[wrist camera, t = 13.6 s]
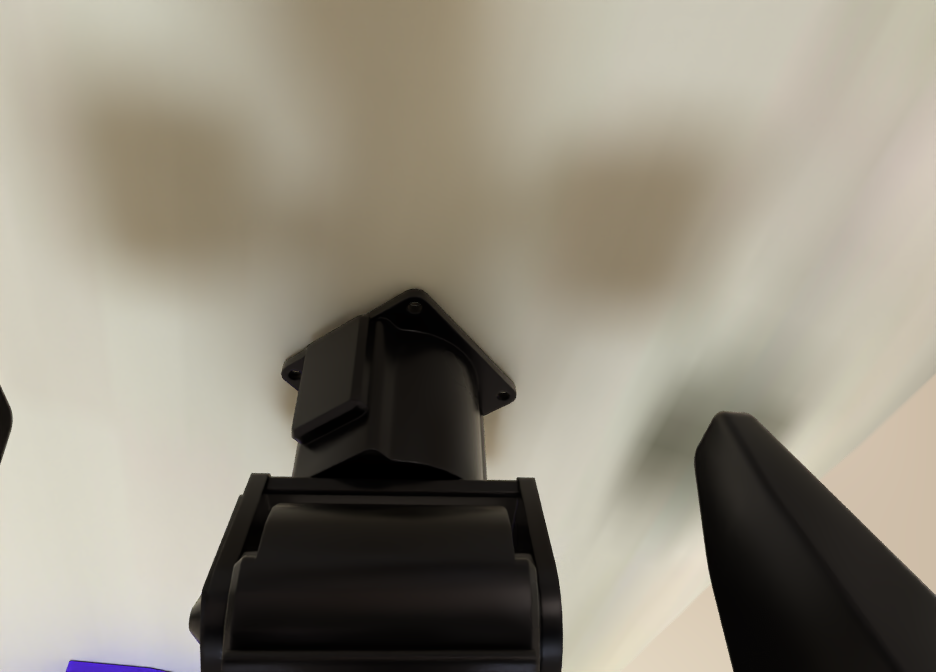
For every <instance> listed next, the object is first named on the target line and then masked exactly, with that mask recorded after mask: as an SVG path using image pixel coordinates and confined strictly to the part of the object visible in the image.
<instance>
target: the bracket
mask: <svg viewBox="0 0 936 672" xmlns="http://www.w3.org/2000/svg"><path fill="white" fill-rule="evenodd" d="M66 672H166V671H161V670H156V669H151V668H142V667H131V666H120V665H110V664H99V663H88V662H77V661H70V662H69V664H68V667H67V670H66Z"/></svg>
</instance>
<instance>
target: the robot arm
mask: <svg viewBox="0 0 936 672" xmlns="http://www.w3.org/2000/svg"><path fill="white" fill-rule="evenodd" d="M412 302H418V303H420V305H418V306H412V305H411V304H410V303H412ZM293 370H294V371H299V372H294V371H293ZM281 375H282V378H283V379H284V380H285V381H286V382H287V383H288V384H290V385H291V386H292V387H294V388H295V389H296V390H298V391H299V392H298V397H297V403H296V408H295V413H294V419H293V424H292V438H293V439H295V440H296V441H297V442H298V445H297V451H296V457H295V462H294V468H293V473H292V477H271V475H270V474H269V473H252V474H251V476H250V478H249V481H248V483H247V486H246V488H245V491H244V493H243V495H240V496H239V498H238V501H237V503H236V506H235V508H234V511H233V513H232V516H231V518H230V521H229V523H228V526H227V528H226V531H225V533H224V536H223V538H222V541H221V543H220V546H219V548H218V551H217V553H216V556H215V558H214V561H213V564H212V566H211V569H210V571H209V574H208V576H207V579H206V581H205V584H204V586H203V590H202V594H201V596H200V597H199V599H198V600H197V602H196V603H195V605H194V606H193V608H192V610H191V613H190V618H189V630H190V632H191V634H192V635H193V636H194V637H195V639H196V640H197V641H198V642H199V644H200V656H201V672H561V668H562V653H563V624H562V606H561V594H560V586H559V579H558V574H557V569H556V564H555V560H554V556H553V552H552V548H551V543H550V539H549V535H548V531H547V527H546V523H545V519H544V515H543V511H542V506H541V502H540V498H539V494H538V490H537V486H536V482H535V478H520V477H517V480H487V472H486V456H485V439H484V423H483V416H484V415H486V414H489V413H491V412H493V411H495V410H497V409H499V408H501V407H503V406H505V405H508V404H510V403H511V402H513V401H514V400H515V398H516V387H515V385H514V383H513V382H512V381H511V380H510V379H509V378H508V377H507V376H506V375H505V374H504V373H503V372H502V371H501V370H500V369H499V368H498V366H497V365H496V364H495V363H494V362H493V361H492V360H491V359H490V358H489V357H488V356H487V355H486V354H485V353H484V352H483V351H482V350H481V349H480V348H479V347H478V346H477V345H476V344H475V343H474V342H473V341H472V340H471V339H470V338H469V336H468V335H467V334H466V333H465V332H464V331H463V330H462V329H461V328H460V327H459V326H458V325H457V324H456V323H455V322H454V321H453V320H452V319H451V318H450V317H449V316H448V315H447V314H446V313H445V312H444V311H443V310H442V309H441V308H440V306H439V305H438V304H437V303H436V302H435V301H434V300H433V299H432V298H431V297H430V296H429V295H428V294H427V293H426V292H424V291H423V290H419V289H410V290H408V291H405V292H404V293H402V294H400V295H398V296H397V297H395V298H393V299H391V300H390V301H388V302H386V303H385V304H383V305H381V306H379V307H378V308H376V309H374V310H372V311H371V312H369V313H367V314H365V315H360V316H357V317H356V318H354V319H352V320H350V321H349V322H347V323H345V324H343V325H342V326H340V327H338V328H337V329H335V330H333V331H331V332H330V333H328V334H326V335H325V336H323V337H321V338H319V339H318V340H316V341H314V342H312V343H311V344H309V345H308V346H307V349H305V350H303V351H301V352H300V353H298V354H296V355H295V356H293V357H291V358H289V359H288V360H286V361H285V362H284V364H283V368H282V373H281ZM499 392H505V393H499ZM12 422H13V416H12V411H11V408H10V405H9V403H8V401H7V399H6V397H5V394H4V392H3V390H2V388H1V386H0V463H1V460H2V457H3V454H4V451H5V448H6V445H7V441H8V438H9V435H10V432H11V428H12ZM694 468H695V475H696V483H697V490H698V498H699V505H700V513H701V520H702V528H703V535H704V543H705V550H706V557H707V563H708V570H709V574H710V579H711V583H712V588H713V592H714V596H715V600H716V604H717V607H718V612H719V615H720V620H721V624H722V628H723V632H724V636H725V640H726V643H727V648H728V652H729V655H730V660H731V664H732V667H733V672H936V595H935V594H934V593H933V592H932V591H931V590H930V589H929V588H928V587H927V586H926V585H925V584H924V583H923V582H922V581H921V580H920V579H919V578H918V577H917V576H916V575H915V574H914V573H913V572H912V571H911V570H910V569H908V567H907V566H906V565H904V564H903V563H902V562H901V561H900V560H899V559H898V558H897V557H896V556H895V555H894V554H893V553H892V552H891V551H890V550H889V549H888V548H887V547H886V546H885V545H884V544H883V543H882V542H881V541H880V540H879V539H878V538H877V537H876V536H875V535H874V534H873V533H872V532H871V531H870V530H869V529H868V528H867V527H866V526H865V525H864V524H863V523H862V522H861V521H860V520H859V519H858V518H857V517H856V516H855V515H854V514H853V513H851V511H850V510H849V509H847V508H846V507H845V506H844V505H843V504H842V503H841V502H840V501H839V500H838V499H837V498H836V497H835V496H834V495H833V494H832V493H831V492H830V491H829V490H828V489H827V488H826V487H825V486H824V485H823V484H822V483H821V482H820V481H819V480H818V479H817V478H816V477H815V476H814V475H813V474H812V473H811V472H810V471H809V470H808V469H807V468H806V467H805V466H804V465H803V464H802V463H801V462H800V461H799V460H798V459H797V458H796V457H795V456H793V455H792V454H791V453H790V452H789V451H788V450H787V449H786V448H785V447H784V446H783V445H782V444H781V443H780V442H779V441H778V440H777V439H776V438H775V437H774V436H773V435H772V434H771V433H770V432H769V431H768V430H767V429H766V428H765V427H764V426H763V425H762V424H761V423H760V422H759V421H758V420H757V419H756V418H755V417H753V416H752V415H750V414H748V413H745V412H731V411H721V412H719V413H717V414H716V415H715V416H714V417H713V419H712V421H711V423H710V424H709V426H708V428H707V430H706V432H705V434H704V435H703V437H702V439H701V441H700V443H699V445H698V446H697V449H696V452H695V457H694Z"/></svg>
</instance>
